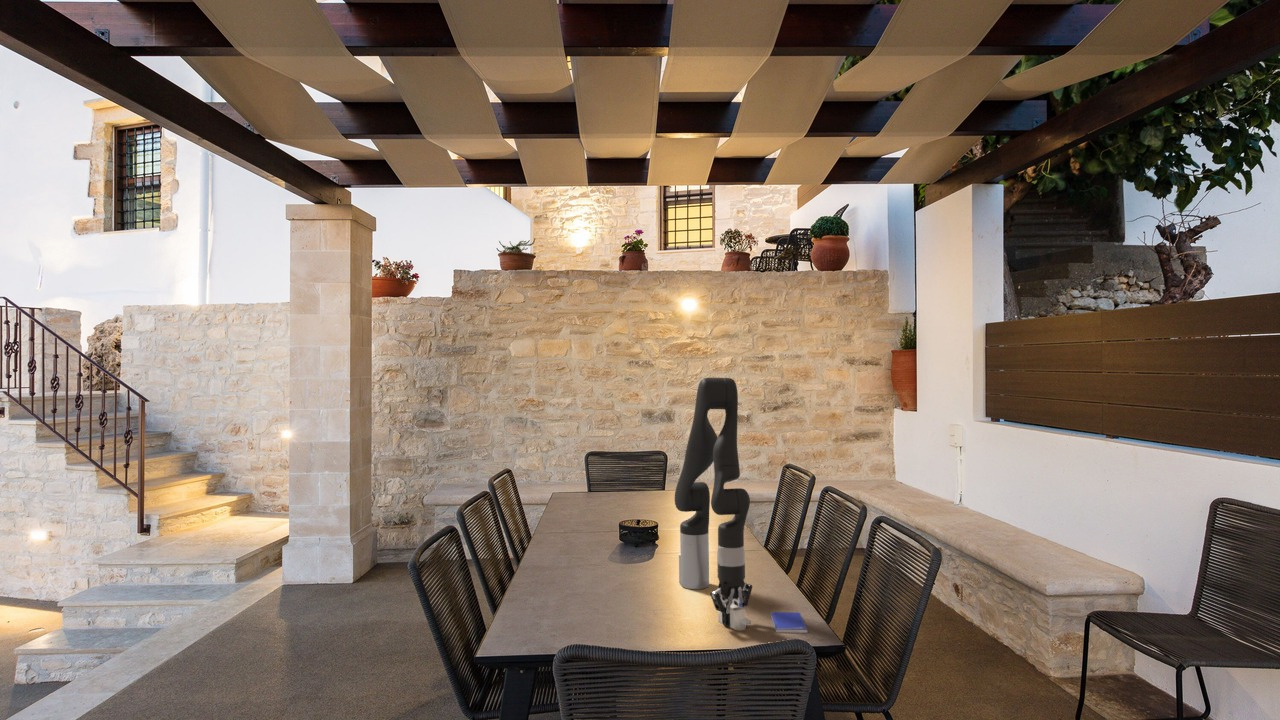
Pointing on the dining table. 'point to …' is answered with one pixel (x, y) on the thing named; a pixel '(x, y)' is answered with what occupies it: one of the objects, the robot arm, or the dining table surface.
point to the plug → (737, 617)
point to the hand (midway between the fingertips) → (731, 624)
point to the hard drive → (788, 622)
